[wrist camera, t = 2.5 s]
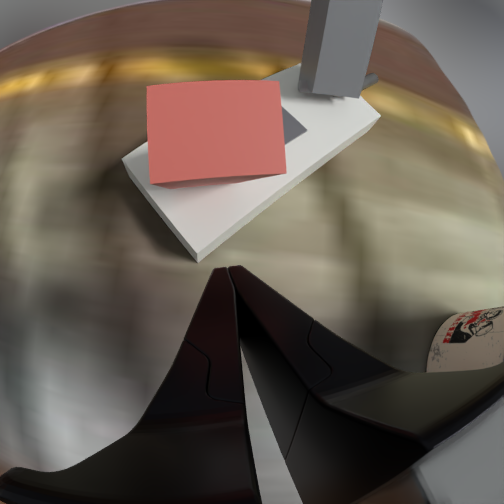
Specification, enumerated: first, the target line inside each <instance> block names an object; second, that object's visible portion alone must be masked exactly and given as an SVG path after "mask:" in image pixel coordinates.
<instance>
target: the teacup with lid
mask: <svg viewBox="0 0 504 504" xmlns="http://www.w3.org/2000/svg"><path fill="white" fill-rule="evenodd" d="M503 361H504V306H503V307H497V308H491V309H485V310H478V311H472V312H465V313H458V314H455V315H453V316H451V317H450V318H448V319H447V320H446V321H445V322H444V323H443V324H442V325H441V327H440V328H439V330H438V331H437V333H436V335H435V337H434V339H433V342H432V344H431V347H430V351H429V355H428V360H427V372H450V371H465V370H477V369H484V368H488V367H492V366H495V365H498V364H500V363H501V362H503Z"/></svg>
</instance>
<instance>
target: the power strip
mask: <svg viewBox="0 0 504 504" xmlns="http://www.w3.org/2000/svg"><path fill="white" fill-rule="evenodd" d="M300 68H301V63H300V64H298V65H295V66H293V67H290V68H288V69H285V70H283V71H280V72H278V73H275V74H273V75H271V76H268V77H266V78H264V79H262V80H267V81H279V85H280V95H281V106H282V118H283V130H284V142H285V156H286V171H287V174H281V175H276V176H271V177H265V178H260V179H255V180H250V181H246V182H241V183H233V184H220V185H208V186H197V187H186V188H177V189H167V188H163V187H160V186H156V185H152V184H150V176H149V159H148V141H147V142H146V143H144V144H143V145H141V146H140V147H138V148H137V149H135V150H134V151H132V152H131V153H129V154H128V155H126V156H125V157H124V158H122V161H123V163H124V165H125V168H126V170H127V172H128V175H129V177H130V178H131V180H132V181H133V182H134V184H135V185H136V186H137V187H138V189H139V190H140V191H141V193H142V194H143V195H144V197H145V198H146V199H147V200H148V202H149V203H150V204H151V206H152V207H153V208H154V209H155V211H156V212H157V213H158V214H159V216H160V217H161V218H162V220H163V221H164V222H165V223H166V225H167V226H168V227H169V228H170V230H171V231H172V232H173V233H174V234H175V236H176V237H177V238H178V239H179V241H180V242H181V243H182V244H183V246H184V247H185V248H186V249H187V250H188V252H189V253H190V254H191V255H192V257H193V258H194V259H195V260H196V261H197V263H198V262H199V261H201V260H202V259H203V258H204V257H206V256H207V255H208V254H209V253H211V252H212V251H213V250H214V249H216V248H217V247H218V246H219V245H221V244H222V243H223V242H224V241H226V240H227V239H228V238H229V237H231V236H232V235H233V234H234V233H236V232H237V231H238V230H239V229H241V228H242V227H243V226H244V225H246V224H247V223H248V222H250V221H251V220H252V219H253V218H255V217H256V216H257V215H258V214H260V213H261V212H262V211H264V210H265V209H266V208H267V207H269V206H270V205H271V204H273V203H274V202H275V201H276V200H278V199H279V198H280V197H282V196H283V195H284V194H285V193H287V192H288V191H289V190H291V189H292V188H293V187H295V186H296V185H297V184H298V183H300V182H301V181H302V180H304V179H305V178H306V177H308V176H309V175H310V174H312V173H313V172H314V171H315V170H317V169H318V168H319V167H321V166H322V165H323V164H325V163H326V162H327V161H329V160H330V159H331V158H333V157H334V156H335V155H337V154H338V153H339V152H341V151H342V150H343V149H345V148H346V147H347V146H349V145H350V144H351V143H353V142H354V141H356V140H357V139H358V138H360V137H361V136H362V135H364V134H365V133H366V132H368V131H369V130H370V128H371V127H372V126H373V125H374V124H375V122H376V121H377V120H378V119H379V117H380V116H381V115H380V114H379V113H378V112H377V111H376V110H375V109H373V108H372V107H371V106H370V105H369V104H368V103H367V102H366V101H365V100H364V99H363V98H362V97H361V96H360V97H359V99H358V98H351V97H343V96H335V95H326V94H316V93H307V92H299V91H298V82H299V74H300ZM377 82H378V77H377V75H376V74H374V73H370V74H368V75H366V76H365V78H364V82H363V86H362V90H364V89H366V88H368V87H370V86H372V85H374V84H376V83H377ZM362 90H361V91H362Z"/></svg>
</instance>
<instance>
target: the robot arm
mask: <svg viewBox="0 0 504 504" xmlns="http://www.w3.org/2000/svg"><path fill="white" fill-rule="evenodd" d="M240 346H241V348H242V351H243V354H244V357H245V360H246V362H247V365H248V368H249V370H250V373H251V376H252V379H253V381H254V384H255V387H256V389H257V392H258V395H259V397H260V400H261V402H262V405H263V408H264V410H265V413H266V415H267V418H268V420H269V423H270V425H271V428H272V431H273V433H274V436H275V438H276V441H277V443H278V445H279V448H280V450H281V453H282V455H283V458H284V460H285V463H286V465H287V467H288V470H289V472H290V475H291V477H292V479H293V482H294V484H295V486H296V489H297V491H298V493H299V495H300V498H301V500H302V502H303V504H504V361H503V362H501V363H500V364H498V365H495V366H492V367H488V368H484V369H477V370H465V371H450V372H426V373H413V372H406V371H402V370H399V369H397V368H394V367H392V366H390V365H388V364H386V363H385V362H383V361H381V360H379V359H377V358H376V357H374V356H372V355H370V354H368V353H367V352H365V351H363V350H361V349H360V348H358V347H356V346H354V345H353V344H351V343H349V342H348V341H346V340H344V339H343V338H341V337H339V336H338V335H336V334H335V333H333V332H332V331H330V330H329V329H327V328H326V327H324V326H323V325H322V324H320V323H319V322H318V321H316V320H314V319H313V318H312V317H311V316H309V315H308V314H307V313H305V312H304V311H302V310H301V309H300V308H298V307H297V306H296V305H294V304H293V303H292V302H290V301H289V300H287V299H286V298H285V297H283V296H282V295H281V294H279V293H278V292H277V291H275V290H274V289H273V288H271V287H270V286H269V285H267V284H266V283H265V282H263V281H262V280H260V279H259V278H258V277H256V276H255V275H254V274H252V273H251V272H250V271H248V270H247V269H246V268H244V267H243V266H241V265H237V266H230V267H228V268H227V267H220V268H214V269H213V271H212V273H211V275H210V278H209V280H208V282H207V285H206V287H205V289H204V292H203V294H202V296H201V299H200V301H199V303H198V306H197V308H196V311H195V313H194V315H193V318H192V320H191V322H190V325H189V327H188V330H187V332H186V334H185V337H184V341H182V344H181V346H180V349H179V351H178V353H177V355H176V358H175V360H174V362H173V364H172V366H171V368H170V370H169V372H168V373H167V375H166V377H165V379H164V381H163V382H162V384H161V386H160V387H159V389H158V391H157V392H156V394H155V396H154V397H153V399H152V401H151V402H150V404H149V406H148V407H147V409H146V411H145V412H144V414H143V416H142V417H141V419H140V420H139V422H138V423H137V424H136V426H135V427H134V428H133V429H132V430H131V431H130V432H129V433H128V434H126V435H125V436H123V437H122V438H120V439H119V440H117V441H115V442H114V443H112V444H110V445H109V446H107V447H105V448H104V449H102V450H100V451H99V452H97V453H95V454H94V455H92V456H90V457H88V458H87V459H85V460H83V461H81V462H80V463H78V464H76V465H74V466H72V467H70V468H67V469H64V470H60V471H56V472H40V471H36V470H31V469H27V468H22V467H14V468H11V469H10V470H8V471H7V472H6V473H4V474H3V475H1V476H0V501H2V502H4V503H6V504H262V500H261V495H260V490H259V485H258V480H257V474H256V469H255V463H254V458H253V452H252V446H251V441H250V435H249V429H248V422H247V413H246V403H245V393H244V382H243V372H242V361H241V349H240Z"/></svg>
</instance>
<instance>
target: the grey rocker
mask: <svg viewBox="0 0 504 504" xmlns="http://www.w3.org/2000/svg"><path fill="white" fill-rule="evenodd" d="M382 3H383V0H312V1H311V7H310V14H309V20H308V26H307V32H306V38H305V44H304V50H303V56H302V62H301V68H300V74H299V82H298V91H299V92H307V93H316V94H326V95H335V96H343V97H351V98H358V99H359V97H360V93H361V90H362V86H363V82H364V78H365V75H366V71H367V67H368V63H369V59H370V55H371V51H372V47H373V43H374V39H375V34H376V30H377V26H378V21H379V17H380V12H381V8H382Z"/></svg>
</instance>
